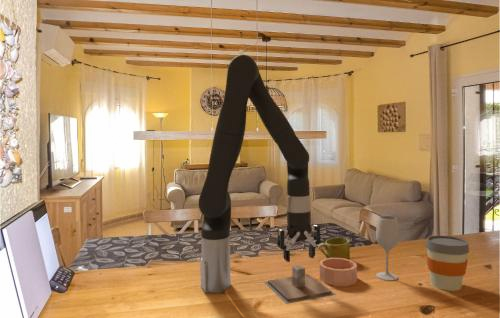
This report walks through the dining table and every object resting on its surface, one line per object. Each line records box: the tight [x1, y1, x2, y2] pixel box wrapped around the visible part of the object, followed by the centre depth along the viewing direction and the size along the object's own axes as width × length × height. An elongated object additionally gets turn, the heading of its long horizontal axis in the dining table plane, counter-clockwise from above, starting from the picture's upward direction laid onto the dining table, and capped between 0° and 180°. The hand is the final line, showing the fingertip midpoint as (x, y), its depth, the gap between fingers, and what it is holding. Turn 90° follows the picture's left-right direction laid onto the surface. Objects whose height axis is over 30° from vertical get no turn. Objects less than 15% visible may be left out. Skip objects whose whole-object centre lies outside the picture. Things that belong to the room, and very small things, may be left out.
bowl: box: [319, 257, 358, 287], centre depth 129 cm, size 12×12×6 cm
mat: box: [263, 281, 337, 305], centre depth 122 cm, size 17×17×1 cm
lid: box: [267, 264, 333, 302], centre depth 122 cm, size 15×15×7 cm
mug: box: [317, 236, 351, 260], centre depth 150 cm, size 12×10×10 cm
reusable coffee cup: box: [425, 234, 470, 292], centre depth 125 cm, size 13×13×15 cm
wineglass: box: [375, 215, 400, 282], centre depth 132 cm, size 8×8×21 cm
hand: (299, 259), depth 121 cm, fingers open, 8 cm apart
